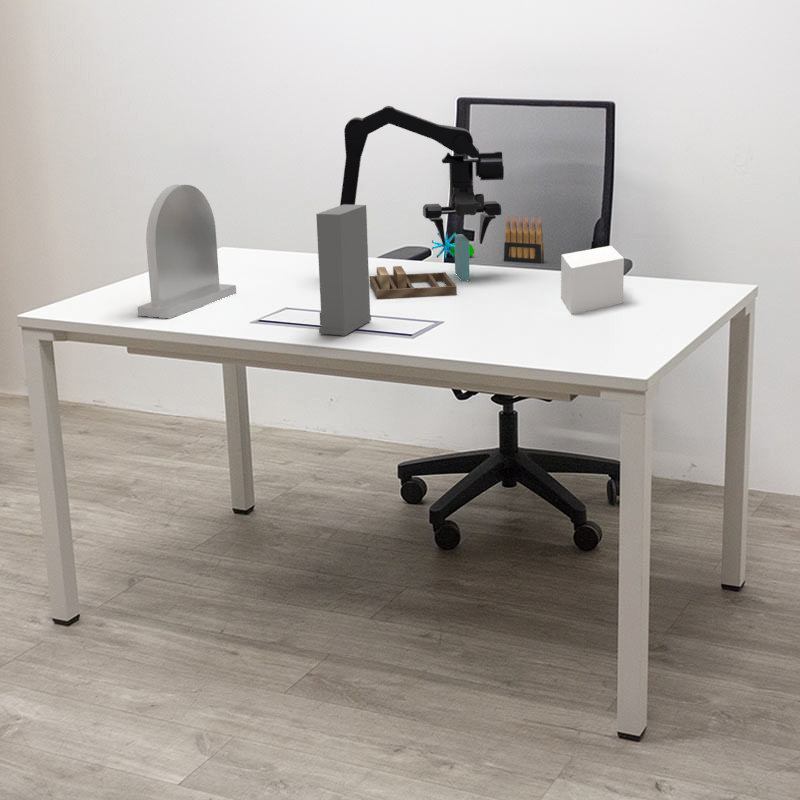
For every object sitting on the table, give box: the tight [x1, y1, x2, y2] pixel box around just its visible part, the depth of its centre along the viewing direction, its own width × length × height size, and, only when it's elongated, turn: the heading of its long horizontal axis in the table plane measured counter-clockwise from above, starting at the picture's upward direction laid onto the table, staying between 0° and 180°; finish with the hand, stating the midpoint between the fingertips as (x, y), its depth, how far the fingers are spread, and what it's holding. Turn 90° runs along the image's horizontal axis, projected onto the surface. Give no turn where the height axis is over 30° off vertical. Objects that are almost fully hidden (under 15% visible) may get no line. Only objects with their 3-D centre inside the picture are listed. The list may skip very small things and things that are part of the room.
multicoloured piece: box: [431, 231, 475, 260], centre depth 339 cm, size 12×7×8 cm
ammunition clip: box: [503, 215, 545, 265], centre depth 326 cm, size 11×2×12 cm, turn 62°
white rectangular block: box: [560, 245, 625, 315], centre depth 280 cm, size 14×29×10 cm, turn 154°
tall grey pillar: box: [315, 204, 372, 337], centre depth 259 cm, size 14×6×25 cm, turn 159°
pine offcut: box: [376, 266, 390, 290], centre depth 297 cm, size 2×10×5 cm, turn 6°
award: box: [137, 184, 237, 320], centre depth 285 cm, size 28×9×28 cm, turn 155°
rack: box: [369, 271, 458, 300], centre depth 298 cm, size 19×18×2 cm
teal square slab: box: [454, 233, 470, 282], centre depth 309 cm, size 2×10×10 cm, turn 6°
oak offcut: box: [392, 265, 407, 289], centre depth 297 cm, size 2×10×5 cm, turn 6°
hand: (462, 244), depth 309 cm, fingers open, 9 cm apart
